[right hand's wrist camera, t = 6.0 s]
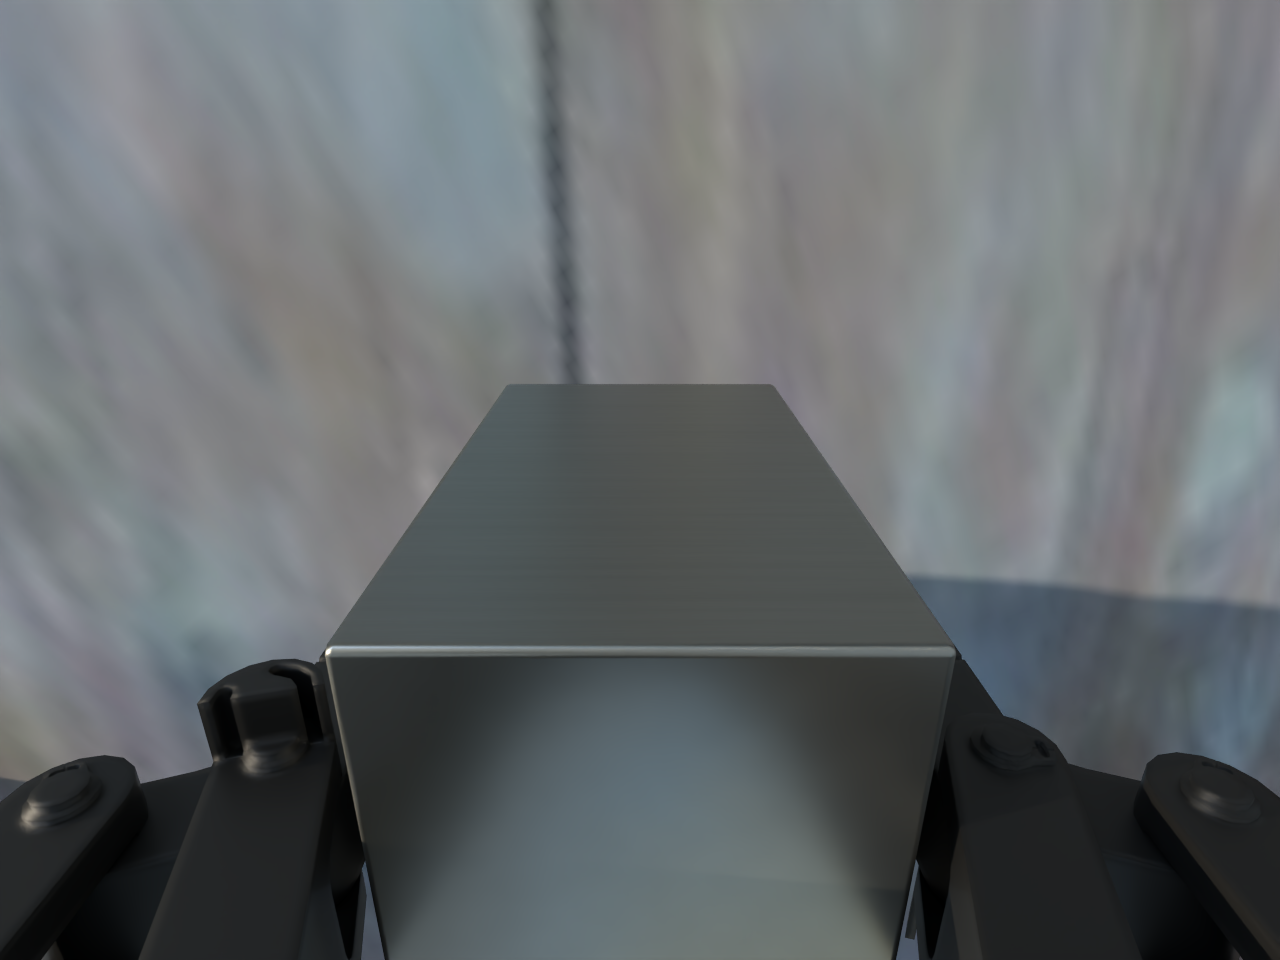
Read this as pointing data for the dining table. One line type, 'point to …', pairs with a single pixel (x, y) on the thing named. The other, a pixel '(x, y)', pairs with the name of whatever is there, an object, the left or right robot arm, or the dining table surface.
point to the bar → (640, 693)
